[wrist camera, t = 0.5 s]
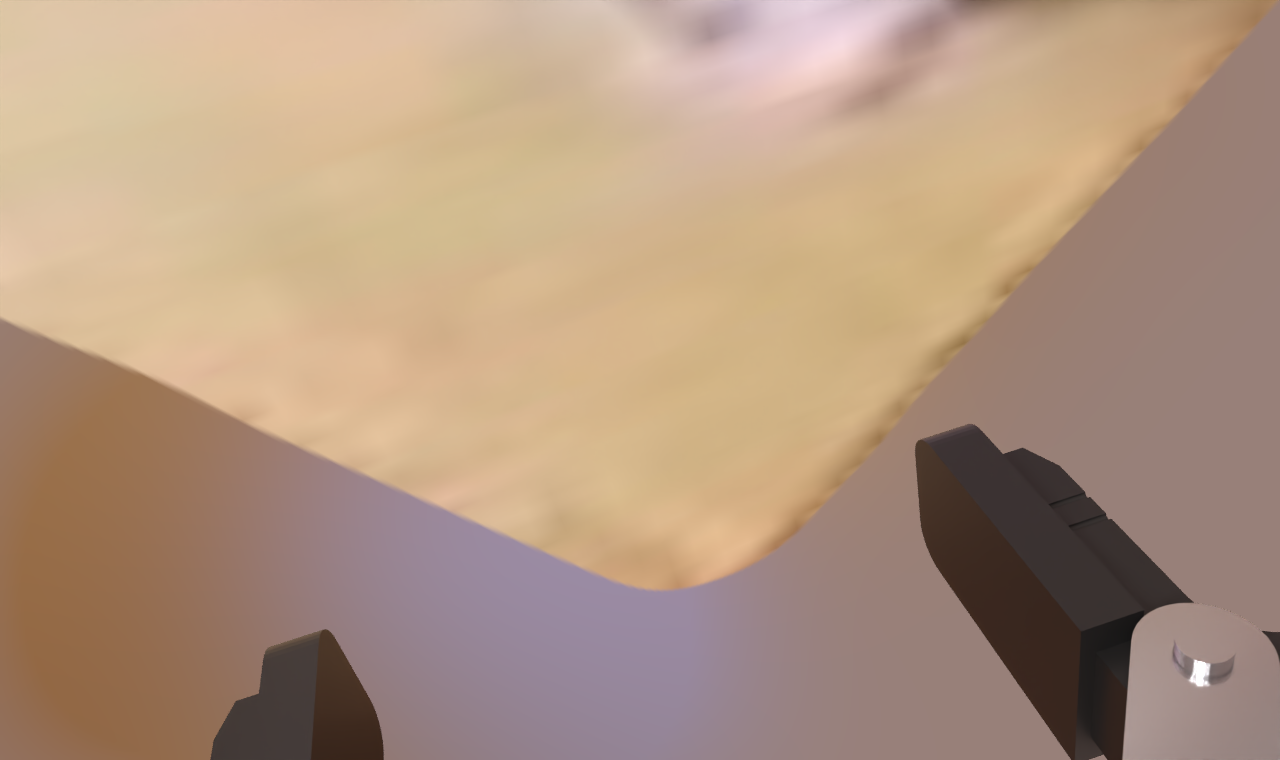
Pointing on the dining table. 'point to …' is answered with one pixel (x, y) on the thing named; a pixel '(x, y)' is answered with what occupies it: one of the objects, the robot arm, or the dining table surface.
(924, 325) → the dining table surface
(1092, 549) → the robot arm
